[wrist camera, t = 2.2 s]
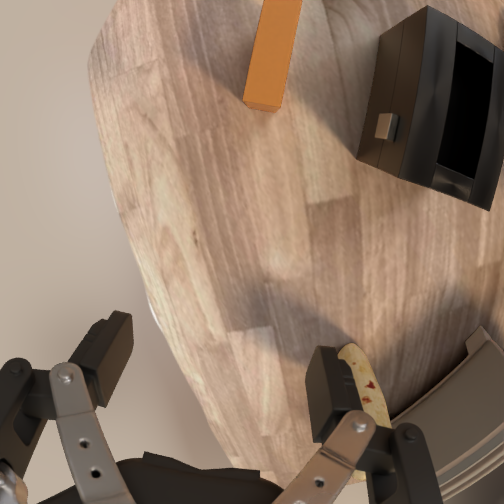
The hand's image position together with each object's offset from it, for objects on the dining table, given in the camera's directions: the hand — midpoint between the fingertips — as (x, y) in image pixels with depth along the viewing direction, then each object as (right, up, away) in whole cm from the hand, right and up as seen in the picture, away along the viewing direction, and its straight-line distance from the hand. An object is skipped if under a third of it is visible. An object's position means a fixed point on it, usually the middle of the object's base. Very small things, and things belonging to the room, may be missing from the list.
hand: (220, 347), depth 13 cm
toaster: (+41, -24, +36) cm, 60 cm away
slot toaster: (+20, +21, +17) cm, 34 cm away
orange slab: (+3, +24, +16) cm, 29 cm away
